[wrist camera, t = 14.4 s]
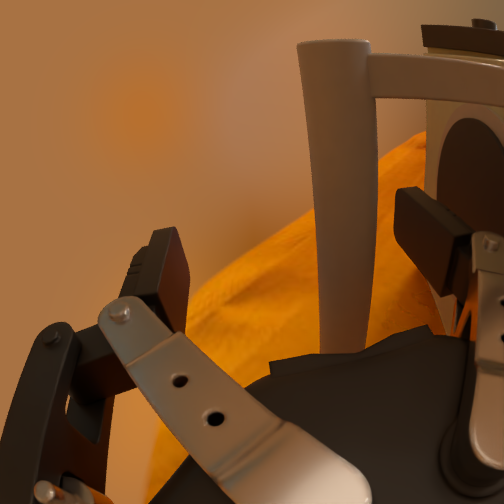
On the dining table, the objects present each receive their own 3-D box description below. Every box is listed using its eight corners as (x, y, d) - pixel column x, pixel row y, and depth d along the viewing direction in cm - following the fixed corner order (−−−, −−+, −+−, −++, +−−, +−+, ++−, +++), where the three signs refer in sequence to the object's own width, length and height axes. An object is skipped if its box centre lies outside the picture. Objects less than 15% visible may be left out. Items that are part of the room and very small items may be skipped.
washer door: (482, 421, 11) (609, 90, 3) (317, 440, 12) (293, 39, 5) (425, 254, 22) (434, 54, 14) (320, 259, 24) (302, 52, 16)
